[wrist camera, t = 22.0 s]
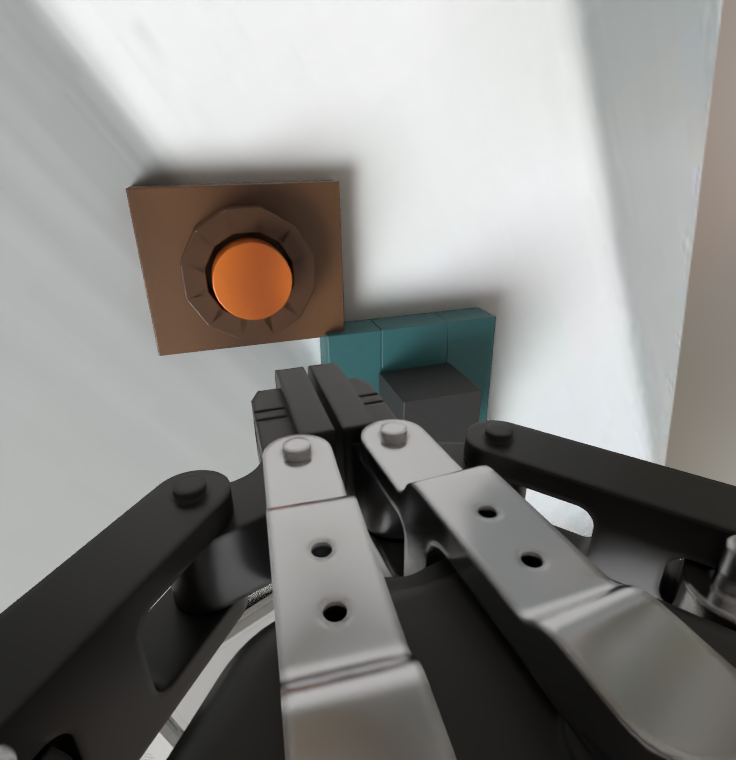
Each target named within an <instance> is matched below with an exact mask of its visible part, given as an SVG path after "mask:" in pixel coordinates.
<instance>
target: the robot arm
mask: <svg viewBox="0 0 736 760" xmlns="http://www.w3.org/2000/svg"><path fill="white" fill-rule="evenodd" d="M275 382H276V389H271V390H264V391H258V392H257V393H256V395H255V396H254V398H253V400H252V401H251V403H252V411H253V419H254V427H255V435H256V443H257V451H258V457H259V462H260V464H259V466H258V467H257V468H256V469H255V470H254V471H252V472H251V473H250V474H248V475H246V476H245V477H243V478H240V479H238V480H236V481H233V482H231V483H230V482H229V480H228V478H227V477H226V476H224V475H223V474H221V473H218V472H215V471H209V470H196V471H189V472H185V473H182V474H179V475H176V476H173V477H171V478H169V479H167V480H166V481H164V482H163V483H161V484H160V485H158V486H157V487H156V488H155V489H154V490H152V491H151V492H150V493H149V494H147V495H146V496H145V497H144V498H142V499H141V500H140V501H139V502H138V503H136V504H135V505H134V506H133V507H131V508H130V509H129V510H128V511H126V512H125V513H124V514H123V515H122V516H120V517H119V518H118V519H117V520H115V521H114V522H113V523H112V524H110V525H109V526H108V527H107V528H106V529H104V530H103V531H102V532H101V533H99V534H98V535H97V536H96V537H94V538H93V539H92V540H91V541H89V542H88V543H87V544H86V545H85V546H83V547H82V548H81V549H80V550H78V551H77V552H76V553H75V554H73V555H72V556H71V557H70V558H69V559H67V560H66V561H65V562H64V563H62V564H61V565H60V566H59V567H57V568H56V569H55V570H54V571H53V572H51V573H50V574H49V575H48V576H46V577H45V578H44V579H43V580H41V581H40V582H39V583H38V584H37V585H35V586H34V587H33V588H32V589H30V590H29V591H28V592H27V593H25V594H24V595H23V596H22V597H21V598H19V599H18V600H17V601H16V602H14V603H13V604H12V605H11V606H9V607H8V608H7V609H6V610H5V611H3V612H2V613H1V614H0V760H140V759H141V757H142V756H143V754H144V753H145V752H146V750H147V749H148V747H149V746H150V744H151V743H152V742H153V740H154V739H155V737H156V736H157V735H158V733H159V732H160V730H161V729H162V728H163V726H164V725H165V723H166V722H167V721H168V719H169V718H170V716H171V715H172V713H173V712H174V711H175V709H176V708H177V706H178V705H179V704H180V702H181V701H182V699H183V698H184V697H185V695H186V694H187V692H188V691H189V689H190V688H191V687H192V685H193V684H194V682H195V681H196V680H197V678H198V677H199V675H200V674H201V673H202V671H203V670H204V668H205V667H206V666H207V664H208V663H209V661H210V660H211V658H212V657H213V656H214V654H215V653H216V651H217V650H218V649H219V647H220V646H221V644H222V643H223V642H224V640H225V639H226V637H227V636H228V635H229V633H230V632H231V630H232V629H233V627H234V626H235V625H236V623H237V622H238V620H239V619H240V618H241V616H242V615H243V613H244V611H245V609H246V607H247V603H248V595H250V594H252V593H254V592H256V591H258V590H259V589H261V588H263V587H265V586H267V585H269V584H271V583H272V590H273V602H274V614H275V621H274V622H272V623H271V624H269V625H267V626H266V627H264V628H263V629H262V630H260V631H259V632H258V633H257V634H255V635H254V636H253V637H252V638H251V639H250V640H249V641H248V642H247V643H246V644H245V645H244V646H243V647H242V648H240V649H239V651H238V652H237V653H236V654H235V656H234V657H233V658H232V659H231V660H230V662H229V663H228V664H227V666H226V667H225V668H224V670H223V671H222V673H221V674H220V676H219V677H218V679H217V680H216V682H215V684H214V685H213V687H212V688H211V690H210V691H209V693H208V695H207V696H206V698H205V699H204V701H203V703H202V704H201V706H200V707H199V709H198V710H197V712H196V714H195V715H194V717H193V718H192V720H191V721H190V723H189V725H188V726H187V728H186V729H185V731H184V732H183V734H182V736H181V737H180V739H179V740H178V742H177V743H176V745H175V747H174V748H173V750H172V751H171V753H170V754H169V756H168V757H167V759H166V760H736V486H733V485H729V484H726V483H722V482H719V481H715V480H711V479H708V478H705V477H701V476H698V475H694V474H690V473H687V472H683V471H680V470H676V469H673V468H669V467H666V466H662V465H658V464H655V463H651V462H648V461H644V460H641V459H637V458H634V457H630V456H626V455H623V454H619V453H616V452H612V451H609V450H605V449H602V448H598V447H595V446H591V445H587V444H584V443H580V442H577V441H573V440H570V439H566V438H563V437H559V436H555V435H552V434H548V433H545V432H541V431H538V430H534V429H531V428H527V427H523V426H520V425H516V424H513V423H509V422H505V421H496V420H488V421H481V422H477V423H474V424H472V425H470V426H469V427H468V428H467V429H466V432H465V442H435V441H434V440H433V439H432V438H431V436H430V435H429V434H428V433H427V432H426V431H425V430H424V429H423V428H421V427H420V426H419V425H417V424H415V423H412V422H409V421H405V420H398V419H397V418H396V416H395V415H394V414H393V412H392V411H391V410H390V408H389V407H388V406H387V404H386V403H385V402H383V399H382V398H381V396H380V395H378V393H377V391H376V390H375V389H374V387H373V386H372V385H371V384H370V383H368V382H366V381H364V380H362V379H360V378H358V377H357V378H349V379H347V378H346V376H345V375H344V373H343V372H342V370H341V369H340V367H339V366H338V364H337V363H329V364H321V365H313V366H309V367H308V375H307V373H306V371H305V369H304V368H303V367H298V368H291V369H283V370H276V371H275ZM526 488H528V489H531V490H534V491H537V492H540V493H543V494H546V495H548V496H551V497H554V498H557V499H560V500H563V501H566V502H569V503H572V504H574V505H577V506H579V507H581V508H583V509H584V510H586V511H587V512H588V513H589V515H590V516H591V518H592V520H593V523H594V528H593V533H592V537H584V536H581V535H578V534H576V533H573V532H570V531H568V530H565V529H562V528H560V527H557V526H554V525H552V524H551V523H550V522H549V521H548V520H546V519H545V518H544V517H543V516H542V515H541V514H540V513H539V512H538V511H537V510H536V509H535V508H534V507H533V506H531V505H530V504H529V503H528V502H527V501H526V500H525V495H526ZM680 559H681V560H680ZM170 586H171V588H170V589H169V590H168V591H167V592H166V593H165V591H166V590H167V589H168V588H169V587H170ZM164 593H165V594H164ZM163 594H164V595H163ZM162 595H163V596H162ZM161 596H162V598H161V599H160V600H159V601H158V602H157V603H156V604H155V605H154V603H155V602H156V601H157V600H158V599H159V598H160V597H161ZM153 605H154V606H153ZM152 606H153V607H152ZM151 607H152V608H151ZM150 608H151V610H150ZM149 610H150V611H149ZM148 611H149V612H148Z"/></svg>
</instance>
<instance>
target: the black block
mask: <svg viewBox="0 0 736 760" xmlns="http://www.w3.org/2000/svg"><path fill="white" fill-rule="evenodd" d="M481 393H482V390H481V389H480V388H479V387H478V386H477V385H475V384H474V383H473V382H472V381H471V380H469V379H468V378H467V377H466V376H465V375H463V374H462V373H461V372H460V371H458V370H457V369H456V368H455V367H454V366H452V365H451V364H450V363H444V364H436V365H429V366H422V367H415V368H407V369H400V370H393V371H386V372H380V373H379V395H380V396H381V398H382V399H383V402H385V403H386V404H387V406H388V407H389V408H390V410H391V411H392V412H393V414H394V415H395V416H396V418H397V419H398V420H405V421H409V422H412V423H415V424H417V425H419V426H420V427H421V428H423V429H424V430H425V431H426V432H427V433H428V434H429V435H430V436H431V438H432V439H433V440H434V441H435V442H465V432H466V429H467V428H468V427H469V426H470V425H472V424H474V423H477V422H479V416H480V405H481Z"/></svg>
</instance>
